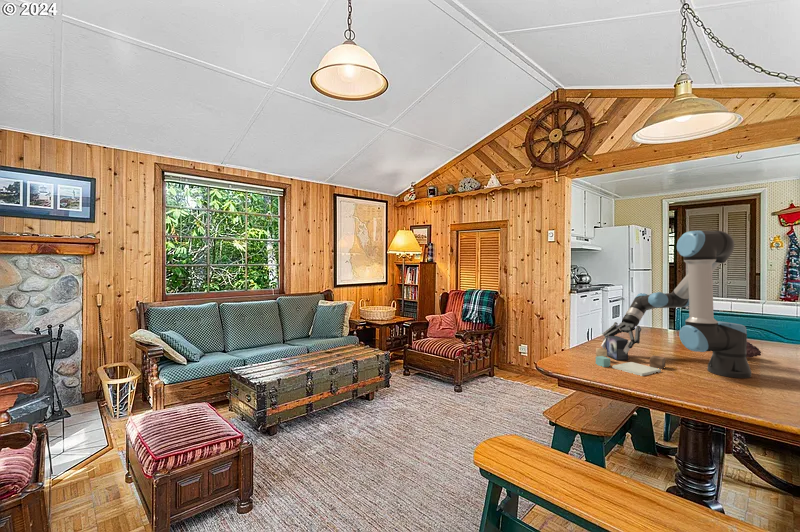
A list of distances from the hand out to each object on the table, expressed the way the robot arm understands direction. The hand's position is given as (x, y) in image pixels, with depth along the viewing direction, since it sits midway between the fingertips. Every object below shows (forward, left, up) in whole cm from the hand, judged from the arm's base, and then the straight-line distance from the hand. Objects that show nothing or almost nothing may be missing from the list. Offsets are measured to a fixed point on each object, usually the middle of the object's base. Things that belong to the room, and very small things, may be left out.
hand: (613, 349), depth 200 cm
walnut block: (-20, -4, -5) cm, 21 cm away
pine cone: (-30, -58, -5) cm, 65 cm away
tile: (-18, +9, -5) cm, 21 cm away
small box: (0, -2, -5) cm, 5 cm away
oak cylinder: (0, +9, -5) cm, 10 cm away
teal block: (-6, +16, -5) cm, 18 cm away
